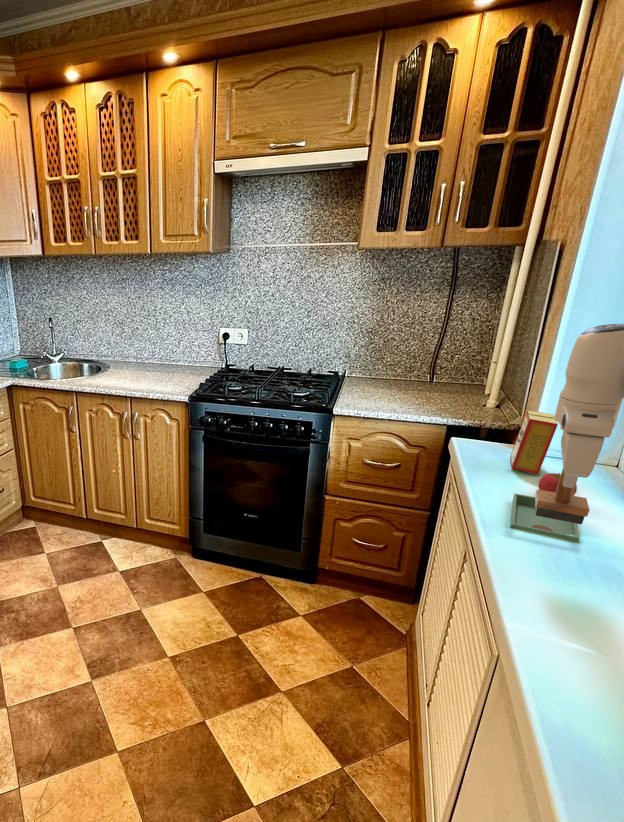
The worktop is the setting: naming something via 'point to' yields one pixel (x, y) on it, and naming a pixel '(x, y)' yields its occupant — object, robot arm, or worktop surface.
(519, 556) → the worktop surface
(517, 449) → the baking soda box
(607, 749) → the worktop surface
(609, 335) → the robot arm
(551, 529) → the brown disc
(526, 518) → the tray
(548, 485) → the tomato
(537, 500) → the brush
